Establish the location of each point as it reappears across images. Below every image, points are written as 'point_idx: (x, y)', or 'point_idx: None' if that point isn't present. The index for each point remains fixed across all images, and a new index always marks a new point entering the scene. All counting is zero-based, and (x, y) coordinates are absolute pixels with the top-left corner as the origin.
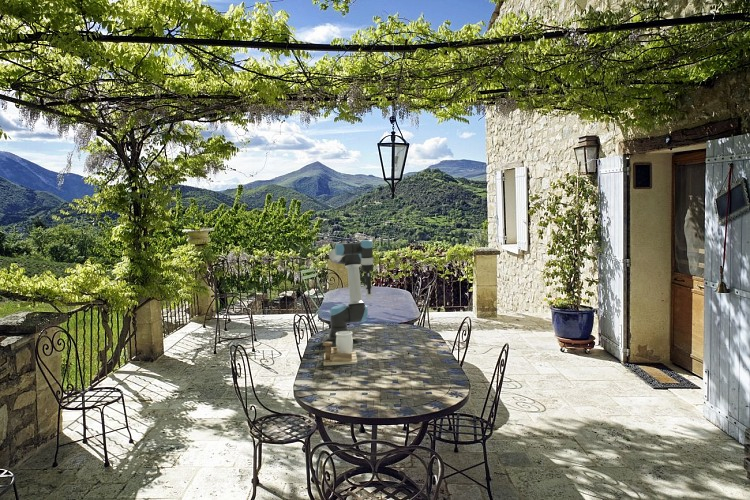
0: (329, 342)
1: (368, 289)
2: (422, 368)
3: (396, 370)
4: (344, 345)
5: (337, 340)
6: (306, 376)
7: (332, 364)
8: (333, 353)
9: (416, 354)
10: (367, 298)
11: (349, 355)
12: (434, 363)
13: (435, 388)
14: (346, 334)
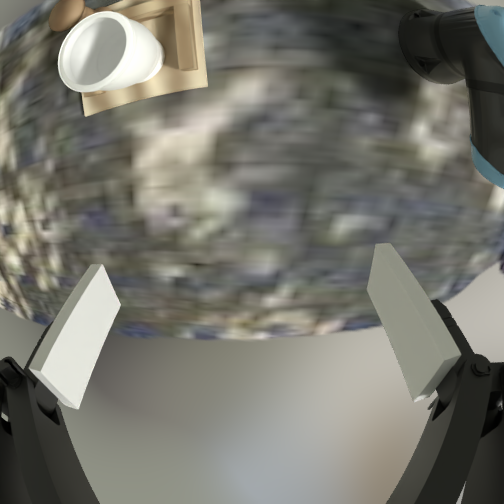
0: (68, 15)
1: (26, 373)
2: None
3: (53, 230)
4: (85, 66)
5: (86, 34)
6: (16, 27)
7: None
8: (138, 18)
9: (184, 282)
10: (87, 271)
11: None
12: None
13: (9, 287)
14: (62, 75)
